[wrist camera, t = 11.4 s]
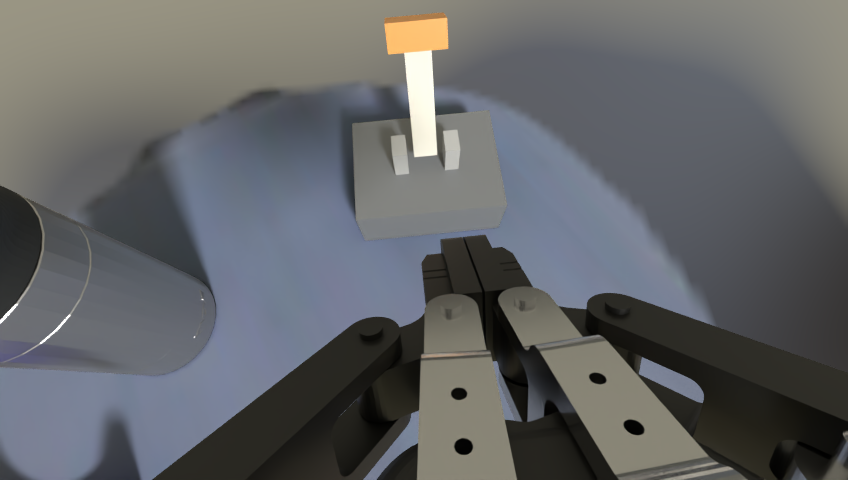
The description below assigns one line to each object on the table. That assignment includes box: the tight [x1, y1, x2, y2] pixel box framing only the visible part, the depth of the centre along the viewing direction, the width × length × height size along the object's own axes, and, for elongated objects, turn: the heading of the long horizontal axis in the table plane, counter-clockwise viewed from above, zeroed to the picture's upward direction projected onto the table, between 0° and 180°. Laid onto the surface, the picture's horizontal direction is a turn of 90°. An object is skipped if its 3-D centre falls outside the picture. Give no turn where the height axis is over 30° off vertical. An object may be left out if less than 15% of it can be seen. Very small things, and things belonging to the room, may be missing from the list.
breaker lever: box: [385, 13, 448, 157], centre depth 32 cm, size 4×2×10 cm
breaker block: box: [352, 110, 507, 241], centre depth 37 cm, size 13×10×8 cm
